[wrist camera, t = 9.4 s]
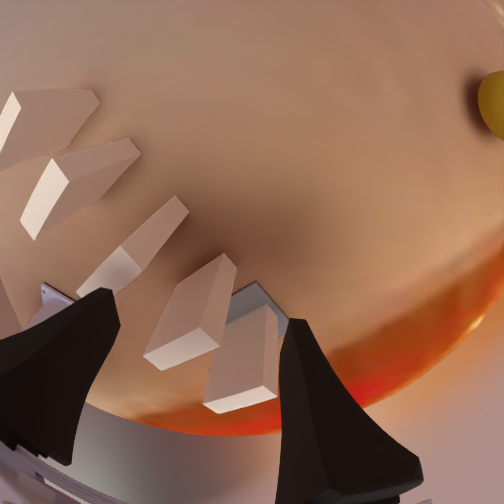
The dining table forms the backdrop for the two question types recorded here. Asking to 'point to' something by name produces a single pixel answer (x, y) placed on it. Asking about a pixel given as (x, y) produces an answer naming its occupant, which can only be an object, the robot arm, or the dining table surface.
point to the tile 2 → (75, 183)
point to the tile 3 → (136, 250)
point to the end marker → (254, 305)
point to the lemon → (493, 102)
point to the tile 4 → (193, 315)
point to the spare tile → (245, 363)
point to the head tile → (42, 122)
